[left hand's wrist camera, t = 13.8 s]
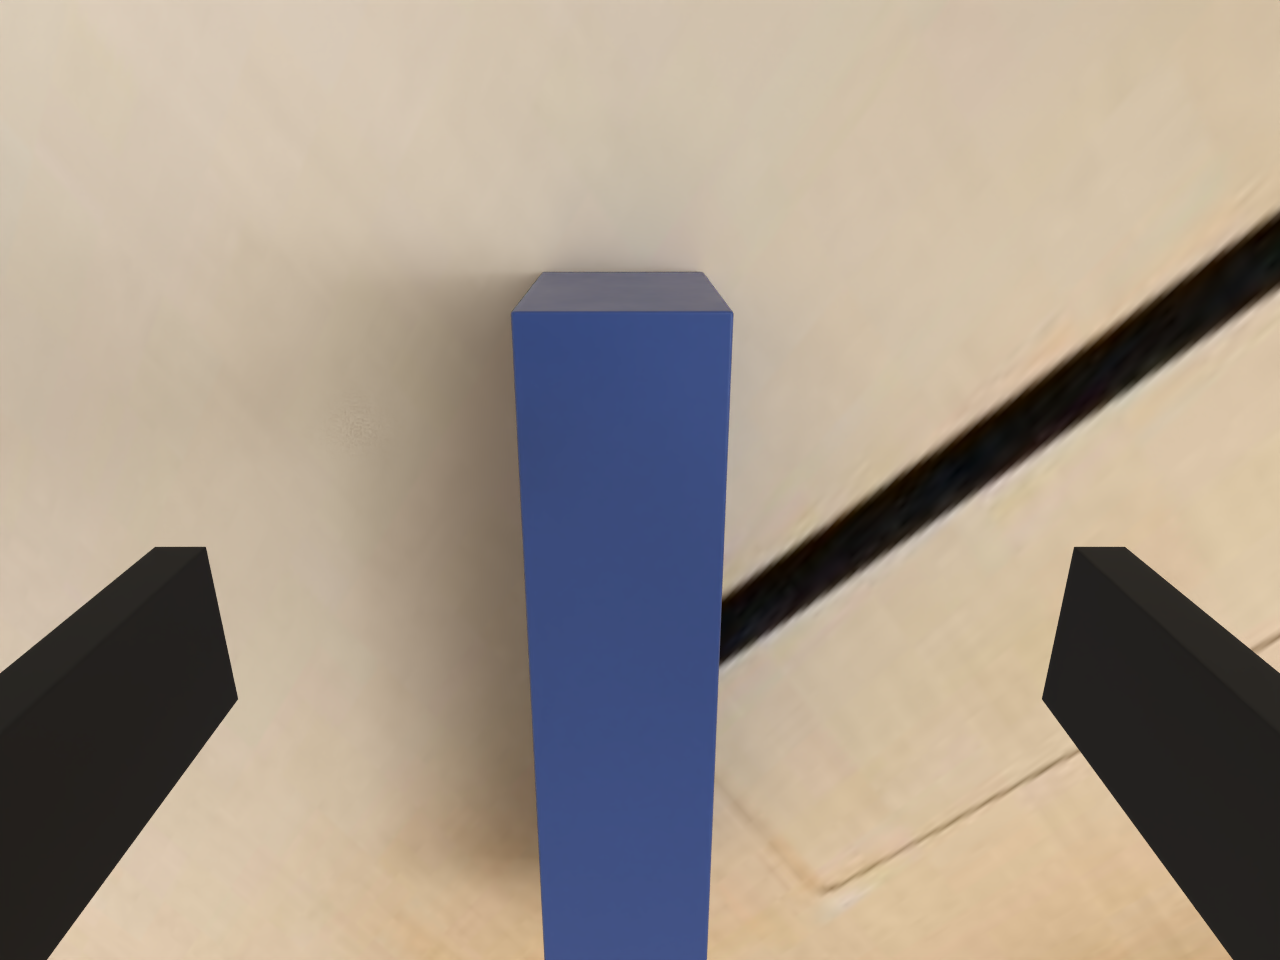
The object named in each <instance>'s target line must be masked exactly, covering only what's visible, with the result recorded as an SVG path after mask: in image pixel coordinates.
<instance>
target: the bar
mask: <svg viewBox="0 0 1280 960" xmlns="http://www.w3.org/2000/svg"><path fill="white" fill-rule="evenodd" d="M511 325H512V344H513V363H514V382H515V401H516V421H517V440H518V459H519V478H520V498H521V517H522V536H523V555H524V575H525V594H526V613H527V632H528V652H529V671H530V690H531V709H532V729H533V748H534V767H535V786H536V806H537V825H538V844H539V863H540V882H541V902H542V921H543V940H544V959H545V960H707V944H708V919H709V895H710V871H711V846H712V822H713V797H714V773H715V749H716V724H717V700H718V676H719V651H720V627H721V603H722V578H723V554H724V530H725V505H726V481H727V457H728V432H729V408H730V384H731V359H732V335H733V312H732V310H731V309H730V308H729V306H728V305H727V304H726V302H725V301H724V300H723V298H722V297H721V296H720V294H719V293H718V292H717V290H716V289H715V288H714V286H713V285H712V284H711V282H710V281H709V280H708V278H707V277H706V276H705V274H704V273H703V272H543V273H542V274H541V275H540V276H539V278H538V279H537V280H536V281H535V283H534V284H533V285H532V287H531V288H530V289H529V290H528V292H527V293H526V294H525V296H524V297H523V298H522V299H521V301H520V302H519V303H518V305H517V306H516V307H515V308H514V310H513V311H512V313H511Z"/></svg>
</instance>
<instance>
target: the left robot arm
mask: <svg viewBox="0 0 1280 960" xmlns="http://www.w3.org/2000/svg"><path fill="white" fill-rule="evenodd" d="M237 700H238V696H237V692H236V687H235V682H234V678H233V673H232V668H231V663H230V659H229V654H228V649H227V645H226V640H225V635H224V630H223V626H222V621H221V616H220V612H219V607H218V602H217V597H216V593H215V588H214V583H213V579H212V574H211V569H210V564H209V560H208V555H207V550H206V547H154V548H153V549H152V550H151V551H150V552H148V553H147V554H146V555H145V556H143V557H142V558H141V559H140V560H139V561H137V562H136V563H135V564H134V565H132V566H131V567H130V568H129V569H128V570H126V571H125V572H124V573H123V574H121V575H120V576H119V577H118V578H116V579H115V580H114V581H113V582H112V583H110V584H109V585H108V586H107V587H105V588H104V589H103V590H102V591H101V592H99V593H98V594H97V595H96V596H94V597H93V598H92V599H91V600H90V601H88V602H87V603H86V604H85V605H83V606H82V607H81V608H80V609H79V610H77V611H76V612H75V613H74V614H72V615H71V616H70V617H69V618H67V619H66V620H65V621H64V622H63V623H61V624H60V625H59V626H58V627H56V628H55V629H54V630H53V631H52V632H50V633H49V634H48V635H47V636H45V637H44V638H43V639H42V640H41V641H39V642H38V643H37V644H36V645H34V646H33V647H32V648H31V649H30V650H28V651H27V652H26V653H25V654H23V655H22V656H21V657H20V658H18V659H17V660H16V661H15V662H14V663H12V664H11V665H10V666H9V667H7V668H6V669H5V670H4V671H3V672H1V673H0V960H47V959H48V957H49V956H50V955H51V953H52V952H53V951H54V949H55V948H56V947H57V945H58V944H59V942H60V941H61V940H62V938H63V937H64V936H65V934H66V933H67V932H68V930H69V929H70V927H71V926H72V925H73V923H74V922H75V921H76V919H77V918H78V917H79V915H80V914H81V912H82V911H83V910H84V908H85V907H86V906H87V904H88V903H89V902H90V900H91V899H92V897H93V896H94V895H95V893H96V892H97V891H98V889H99V888H100V887H101V885H102V884H103V883H104V881H105V880H106V878H107V877H108V876H109V874H110V873H111V872H112V870H113V869H114V868H115V866H116V865H117V863H118V862H119V861H120V859H121V858H122V857H123V855H124V854H125V853H126V851H127V850H128V848H129V847H130V846H131V844H132V843H133V842H134V840H135V839H136V838H137V836H138V835H139V833H140V832H141V831H142V829H143V828H144V827H145V825H146V824H147V823H148V821H149V820H150V818H151V817H152V816H153V814H154V813H155V812H156V810H157V809H158V808H159V806H160V805H161V803H162V802H163V801H164V799H165V798H166V797H167V795H168V794H169V793H170V791H171V790H172V788H173V787H174V786H175V784H176V783H177V782H178V780H179V779H180V778H181V776H182V775H183V773H184V772H185V771H186V769H187V768H188V767H189V765H190V764H191V763H192V761H193V760H194V758H195V757H196V756H197V754H198V753H199V752H200V750H201V749H202V748H203V746H204V745H205V743H206V742H207V741H208V739H209V738H210V737H211V735H212V734H213V733H214V731H215V730H216V728H217V727H218V726H219V724H220V723H221V722H222V720H223V719H224V718H225V716H226V715H227V713H228V712H229V711H230V709H231V708H232V707H233V705H234V704H235V703H236V701H237ZM1042 700H1043V701H1044V703H1045V704H1046V705H1047V707H1048V708H1049V709H1050V711H1051V712H1052V713H1053V715H1054V716H1055V718H1056V719H1057V720H1058V722H1059V723H1060V724H1061V726H1062V727H1063V728H1064V730H1065V731H1066V733H1067V734H1068V735H1069V737H1070V738H1071V739H1072V741H1073V742H1074V743H1075V745H1076V746H1077V748H1078V749H1079V750H1080V752H1081V753H1082V754H1083V756H1084V757H1085V758H1086V760H1087V761H1088V763H1089V764H1090V765H1091V767H1092V768H1093V769H1094V771H1095V772H1096V773H1097V775H1098V776H1099V778H1100V779H1101V780H1102V782H1103V783H1104V784H1105V786H1106V787H1107V788H1108V790H1109V791H1110V793H1111V794H1112V795H1113V797H1114V798H1115V799H1116V801H1117V802H1118V803H1119V805H1120V806H1121V808H1122V809H1123V810H1124V812H1125V813H1126V814H1127V816H1128V817H1129V818H1130V820H1131V821H1132V823H1133V824H1134V825H1135V827H1136V828H1137V829H1138V831H1139V832H1140V833H1141V835H1142V836H1143V838H1144V839H1145V840H1146V842H1147V843H1148V844H1149V846H1150V847H1151V848H1152V850H1153V851H1154V853H1155V854H1156V855H1157V857H1158V858H1159V859H1160V861H1161V862H1162V863H1163V865H1164V866H1165V868H1166V869H1167V870H1168V872H1169V873H1170V874H1171V876H1172V877H1173V878H1174V880H1175V881H1176V882H1177V884H1178V885H1179V887H1180V888H1181V889H1182V891H1183V892H1184V893H1185V895H1186V896H1187V897H1188V899H1189V900H1190V902H1191V903H1192V904H1193V906H1194V907H1195V908H1196V910H1197V911H1198V912H1199V914H1200V915H1201V917H1202V918H1203V919H1204V921H1205V922H1206V923H1207V925H1208V926H1209V927H1210V929H1211V930H1212V932H1213V933H1214V934H1215V936H1216V937H1217V938H1218V940H1219V941H1220V942H1221V944H1222V945H1223V947H1224V948H1225V949H1226V951H1227V952H1228V953H1229V955H1230V956H1231V957H1232V959H1233V960H1280V673H1279V672H1277V671H1276V670H1275V669H1274V668H1273V667H1271V666H1270V665H1269V664H1268V663H1266V662H1265V661H1264V660H1263V659H1262V658H1260V657H1259V656H1258V655H1257V654H1255V653H1254V652H1253V651H1252V650H1250V649H1249V648H1248V647H1247V646H1246V645H1244V644H1243V643H1242V642H1241V641H1239V640H1238V639H1237V638H1236V637H1235V636H1233V635H1232V634H1231V633H1230V632H1228V631H1227V630H1226V629H1225V628H1224V627H1222V626H1221V625H1220V624H1219V623H1217V622H1216V621H1215V620H1214V619H1213V618H1211V617H1210V616H1209V615H1208V614H1206V613H1205V612H1204V611H1203V610H1201V609H1200V608H1199V607H1198V606H1197V605H1195V604H1194V603H1193V602H1192V601H1190V600H1189V599H1188V598H1187V597H1186V596H1184V595H1183V594H1182V593H1181V592H1179V591H1178V590H1177V589H1176V588H1175V587H1173V586H1172V585H1171V584H1170V583H1168V582H1167V581H1166V580H1165V579H1164V578H1162V577H1161V576H1160V575H1159V574H1157V573H1156V572H1155V571H1154V570H1152V569H1151V568H1150V567H1149V566H1148V565H1146V564H1145V563H1144V562H1143V561H1141V560H1140V559H1139V558H1138V557H1137V556H1135V555H1134V554H1133V553H1132V552H1130V551H1129V550H1128V549H1127V548H1126V547H1074V550H1073V555H1072V560H1071V564H1070V569H1069V574H1068V579H1067V583H1066V588H1065V593H1064V597H1063V602H1062V607H1061V612H1060V616H1059V621H1058V626H1057V630H1056V635H1055V640H1054V645H1053V649H1052V654H1051V659H1050V663H1049V668H1048V673H1047V678H1046V682H1045V687H1044V692H1043V696H1042Z"/></svg>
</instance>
